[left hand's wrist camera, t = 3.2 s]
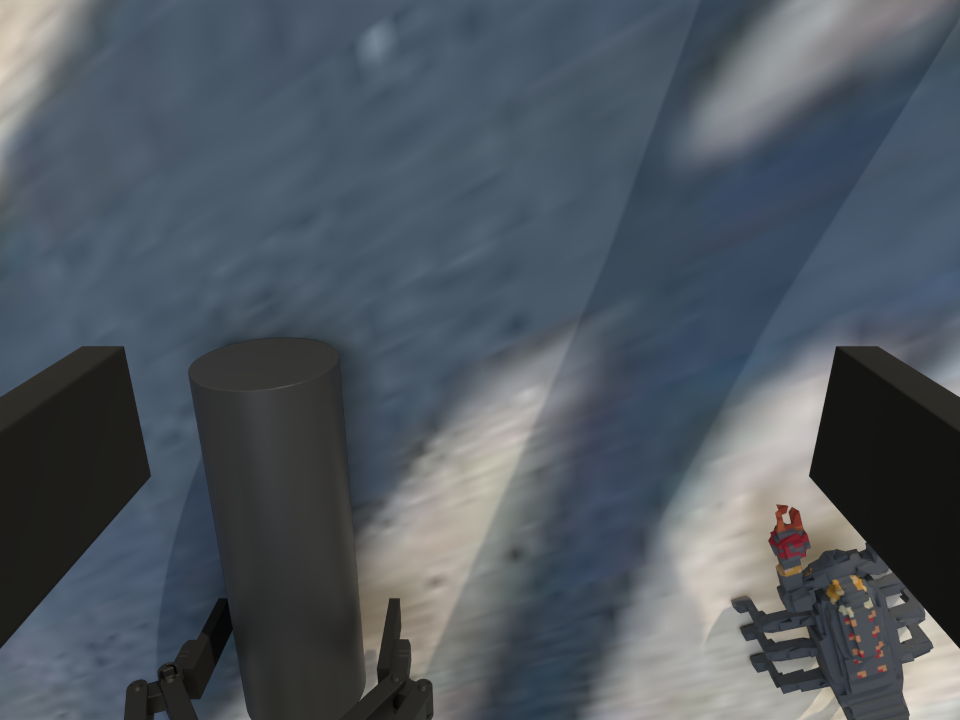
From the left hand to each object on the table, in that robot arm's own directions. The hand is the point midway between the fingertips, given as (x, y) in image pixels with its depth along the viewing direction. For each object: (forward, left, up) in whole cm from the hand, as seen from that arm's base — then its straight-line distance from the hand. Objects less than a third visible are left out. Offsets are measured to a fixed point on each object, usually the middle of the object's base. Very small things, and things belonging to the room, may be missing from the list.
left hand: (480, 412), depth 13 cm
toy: (-8, +39, -30) cm, 50 cm away
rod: (+22, +13, -30) cm, 39 cm away
